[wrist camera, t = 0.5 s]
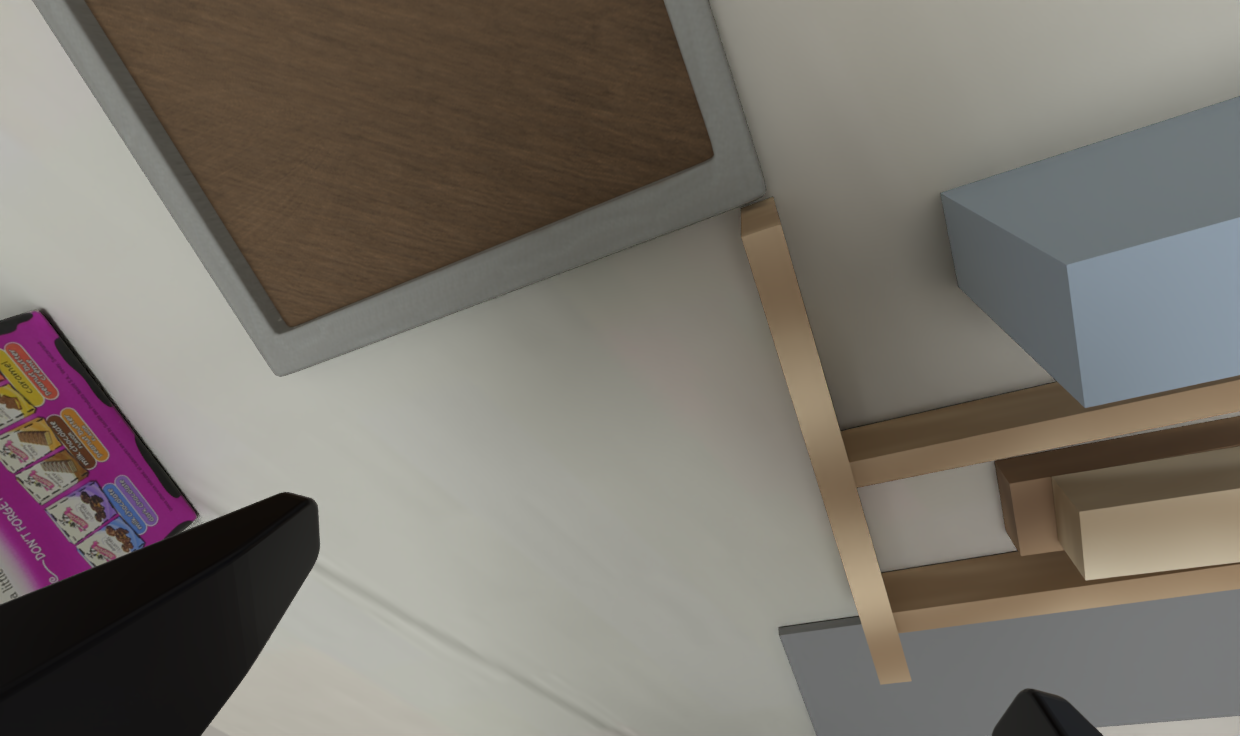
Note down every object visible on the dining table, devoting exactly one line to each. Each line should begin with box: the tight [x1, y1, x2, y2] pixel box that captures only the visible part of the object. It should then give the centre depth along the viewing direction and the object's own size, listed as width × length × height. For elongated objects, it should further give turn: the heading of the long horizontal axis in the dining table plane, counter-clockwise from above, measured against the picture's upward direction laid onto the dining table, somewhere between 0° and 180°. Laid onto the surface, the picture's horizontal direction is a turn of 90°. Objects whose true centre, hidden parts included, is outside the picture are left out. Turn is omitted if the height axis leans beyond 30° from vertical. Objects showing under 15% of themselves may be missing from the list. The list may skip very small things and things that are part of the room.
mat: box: [779, 589, 1240, 736], centre depth 25 cm, size 7×17×1 cm, turn 111°
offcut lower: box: [994, 416, 1240, 556], centre depth 20 cm, size 3×13×2 cm, turn 110°
